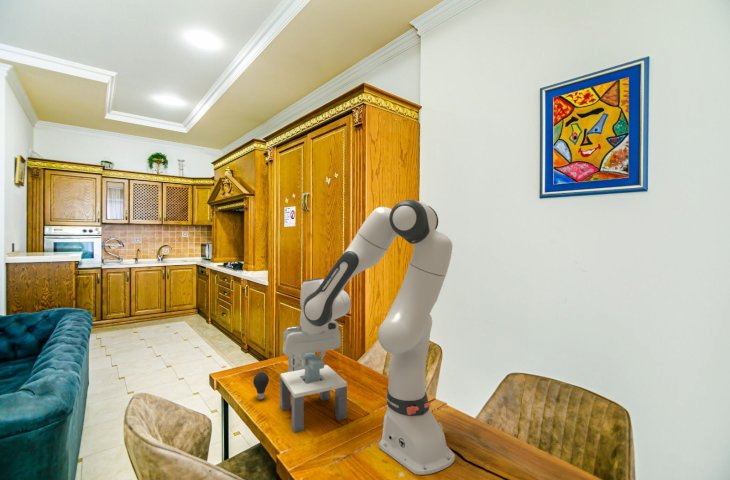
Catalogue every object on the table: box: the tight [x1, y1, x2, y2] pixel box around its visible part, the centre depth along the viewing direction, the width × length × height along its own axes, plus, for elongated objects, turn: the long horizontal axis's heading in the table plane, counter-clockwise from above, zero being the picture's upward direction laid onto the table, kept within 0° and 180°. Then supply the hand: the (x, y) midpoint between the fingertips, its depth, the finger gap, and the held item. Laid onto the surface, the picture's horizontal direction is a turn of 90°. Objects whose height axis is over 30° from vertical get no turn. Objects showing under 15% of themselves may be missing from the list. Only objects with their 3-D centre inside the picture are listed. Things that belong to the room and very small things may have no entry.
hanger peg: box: [303, 352, 325, 384], centre depth 114 cm, size 12×4×10 cm, turn 28°
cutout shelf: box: [279, 364, 348, 434], centre depth 114 cm, size 18×18×12 cm
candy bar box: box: [287, 352, 318, 382], centre depth 137 cm, size 11×5×16 cm, turn 131°
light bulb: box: [252, 371, 270, 401], centre depth 123 cm, size 6×6×10 cm
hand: (312, 364), depth 114 cm, fingers closed on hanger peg, 4 cm apart
